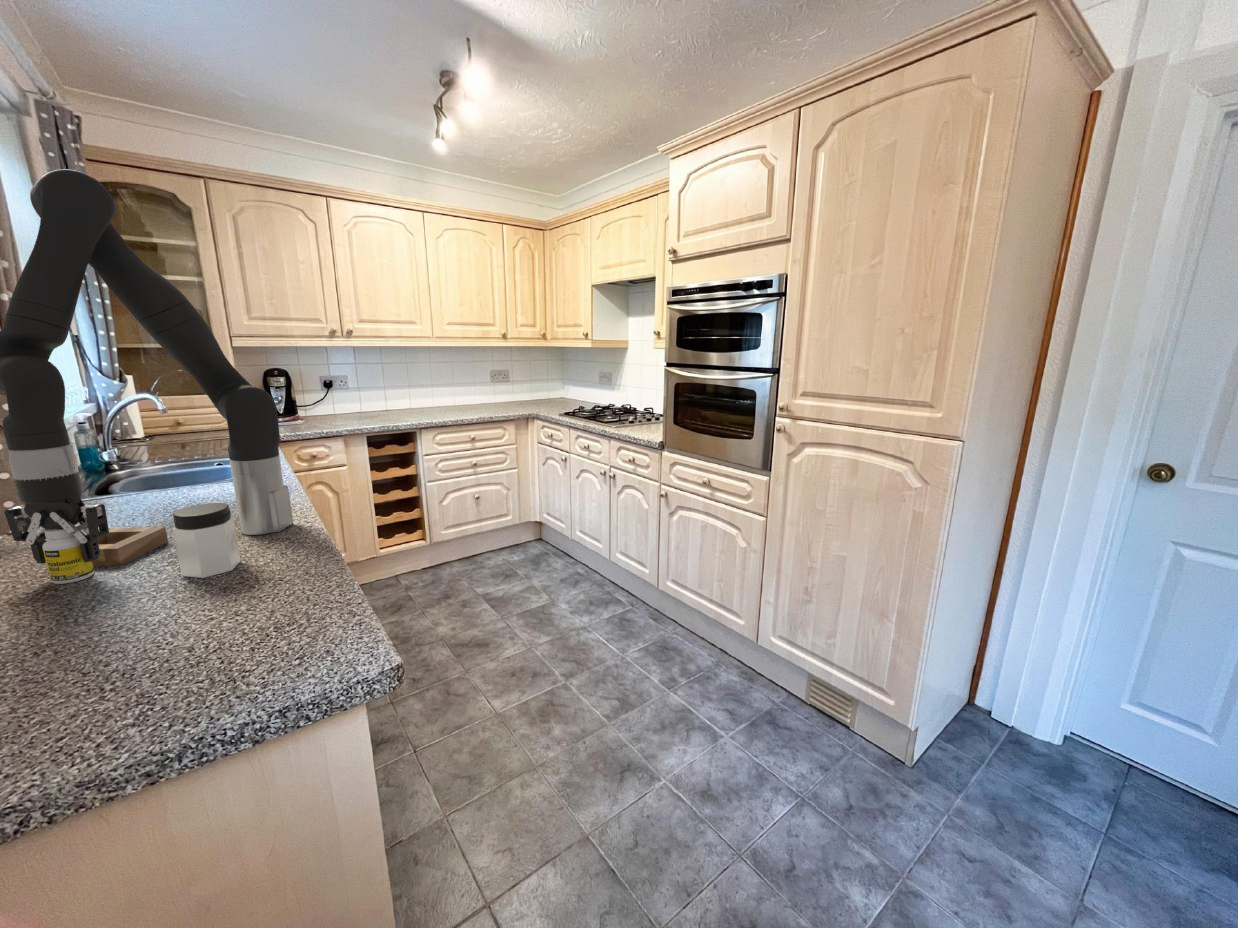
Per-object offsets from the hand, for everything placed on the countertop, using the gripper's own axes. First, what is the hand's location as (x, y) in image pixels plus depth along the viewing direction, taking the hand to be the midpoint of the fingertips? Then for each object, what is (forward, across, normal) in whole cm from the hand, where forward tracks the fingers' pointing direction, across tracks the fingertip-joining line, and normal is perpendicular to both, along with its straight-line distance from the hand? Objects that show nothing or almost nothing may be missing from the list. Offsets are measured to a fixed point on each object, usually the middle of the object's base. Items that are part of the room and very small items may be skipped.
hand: (68, 560), depth 90 cm
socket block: (+3, +2, -11) cm, 12 cm away
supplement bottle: (+4, 0, 0) cm, 4 cm away
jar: (+4, -22, -2) cm, 22 cm away
